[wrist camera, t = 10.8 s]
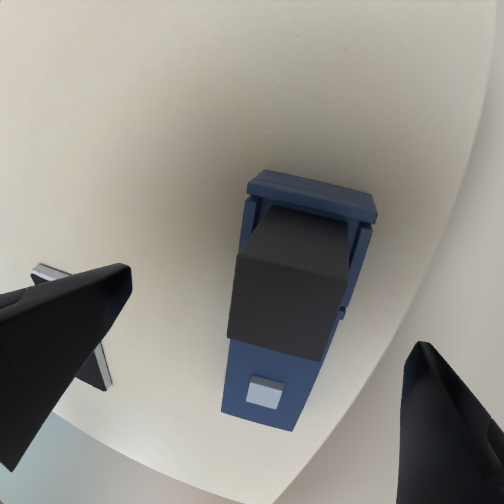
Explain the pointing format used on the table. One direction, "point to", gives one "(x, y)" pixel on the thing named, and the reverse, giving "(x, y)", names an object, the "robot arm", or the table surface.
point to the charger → (290, 283)
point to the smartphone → (96, 364)
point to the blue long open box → (306, 371)
